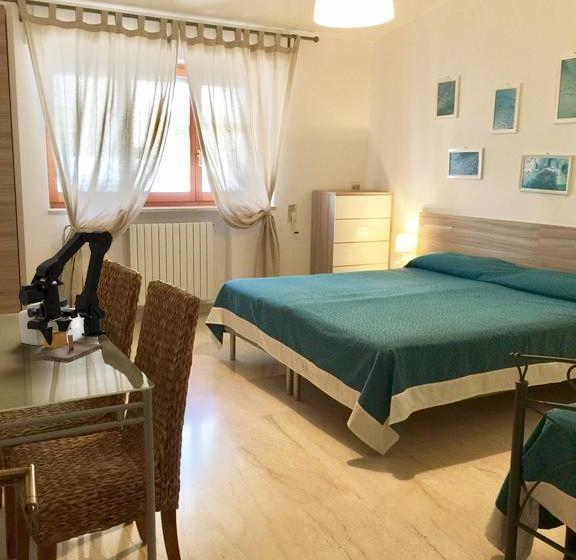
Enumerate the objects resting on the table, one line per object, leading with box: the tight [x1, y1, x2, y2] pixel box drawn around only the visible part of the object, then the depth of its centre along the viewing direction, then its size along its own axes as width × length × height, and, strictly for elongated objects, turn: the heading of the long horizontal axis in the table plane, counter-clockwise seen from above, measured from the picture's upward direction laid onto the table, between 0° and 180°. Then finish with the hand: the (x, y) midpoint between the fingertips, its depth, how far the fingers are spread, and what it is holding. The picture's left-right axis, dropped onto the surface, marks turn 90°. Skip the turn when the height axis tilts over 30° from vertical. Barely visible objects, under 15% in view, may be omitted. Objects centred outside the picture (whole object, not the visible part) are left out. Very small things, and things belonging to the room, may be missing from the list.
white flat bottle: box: [17, 309, 44, 346], centre depth 218 cm, size 10×4×12 cm, turn 60°
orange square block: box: [43, 331, 68, 349], centre depth 215 cm, size 5×5×4 cm
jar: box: [50, 296, 72, 331], centre depth 235 cm, size 9×8×12 cm
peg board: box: [39, 334, 103, 363], centre depth 205 cm, size 16×12×6 cm
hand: (55, 342), depth 215 cm, fingers closed on orange square block, 5 cm apart
